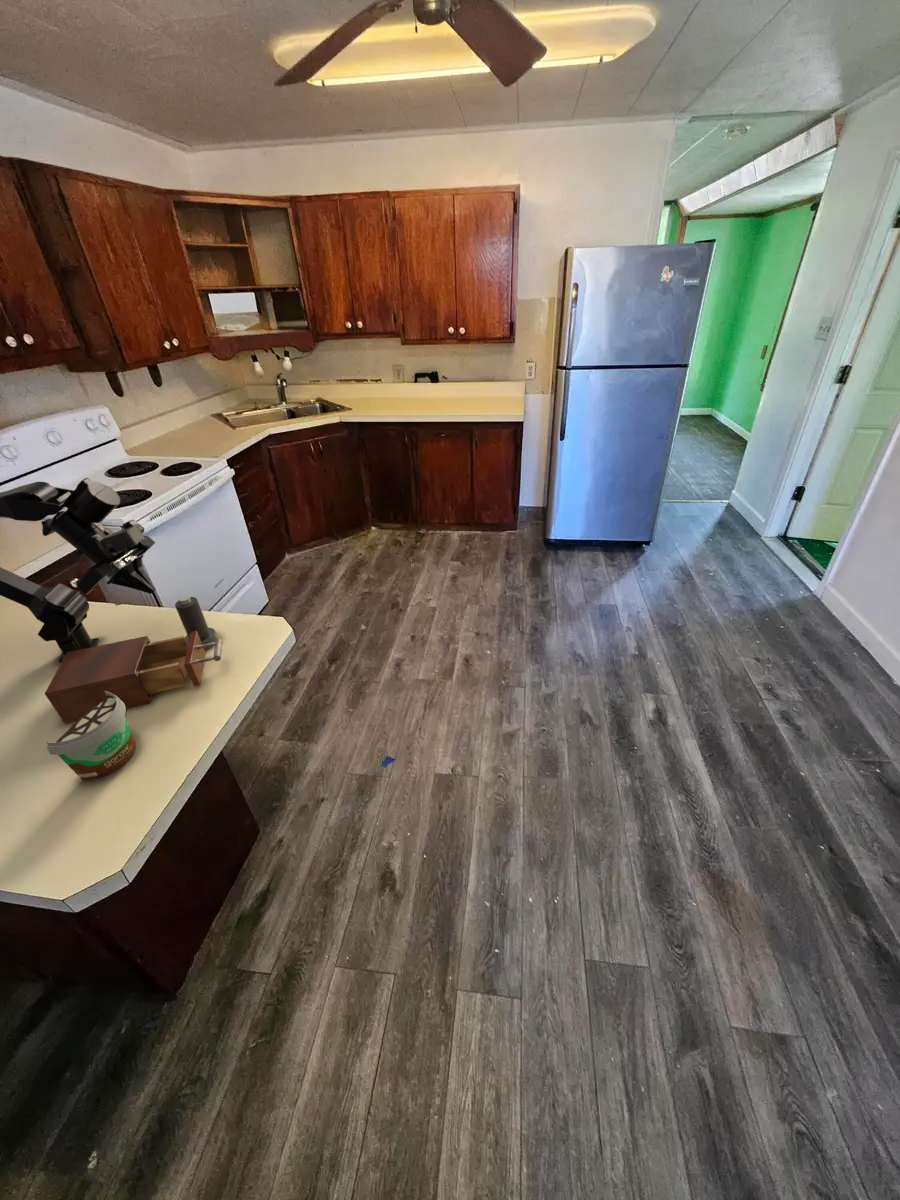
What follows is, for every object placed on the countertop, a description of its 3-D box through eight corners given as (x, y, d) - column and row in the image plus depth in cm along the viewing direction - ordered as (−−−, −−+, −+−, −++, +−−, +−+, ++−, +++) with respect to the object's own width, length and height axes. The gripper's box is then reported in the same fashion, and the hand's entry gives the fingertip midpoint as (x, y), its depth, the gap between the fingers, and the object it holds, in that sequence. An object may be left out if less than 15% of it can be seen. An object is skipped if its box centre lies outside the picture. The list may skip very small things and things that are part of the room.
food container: (106, 792, 77) (77, 750, 71) (74, 787, 78) (43, 745, 72) (160, 733, 87) (137, 692, 81) (130, 729, 88) (107, 688, 83)
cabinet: (161, 663, 104) (147, 635, 100) (150, 703, 94) (134, 673, 90) (84, 680, 100) (66, 652, 96) (64, 723, 90) (44, 693, 86)
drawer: (228, 647, 106) (220, 625, 103) (225, 679, 97) (216, 657, 94) (137, 667, 102) (125, 645, 99) (125, 703, 93) (112, 680, 89)
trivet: (188, 638, 111) (185, 631, 110) (219, 631, 113) (216, 624, 112) (185, 654, 106) (181, 647, 105) (217, 647, 108) (214, 640, 107)
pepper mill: (190, 632, 110) (174, 595, 104) (210, 628, 111) (196, 591, 105) (187, 643, 106) (171, 605, 101) (209, 639, 107) (194, 601, 102)
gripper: (77, 528, 85) (152, 590, 91) (137, 498, 101) (198, 552, 107) (43, 564, 88) (118, 622, 94) (107, 530, 105) (167, 580, 110)
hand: (153, 591), depth 101 cm, fingers closed
